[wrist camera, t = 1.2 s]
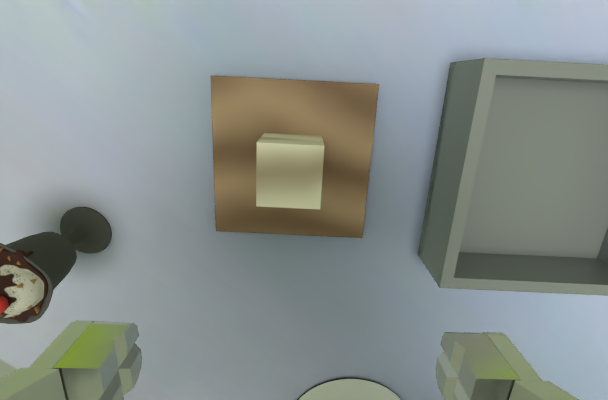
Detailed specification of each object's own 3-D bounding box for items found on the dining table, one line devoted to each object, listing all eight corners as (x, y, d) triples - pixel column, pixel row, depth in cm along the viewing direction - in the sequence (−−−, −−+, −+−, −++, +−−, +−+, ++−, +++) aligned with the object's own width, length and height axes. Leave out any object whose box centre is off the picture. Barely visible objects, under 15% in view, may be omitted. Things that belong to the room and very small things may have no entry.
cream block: (318, 190, 32) (320, 209, 27) (263, 188, 32) (256, 206, 27) (321, 135, 31) (324, 145, 26) (264, 133, 31) (256, 142, 26)
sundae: (133, 226, 35) (13, 327, 20) (98, 271, 36) (-37, 394, 22) (74, 184, 33) (-100, 260, 19) (40, 232, 35) (-143, 336, 21)
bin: (595, 263, 36) (650, 297, 30) (418, 254, 35) (439, 287, 30) (661, 73, 30) (745, 72, 24) (450, 63, 30) (484, 58, 24)
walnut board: (360, 233, 35) (362, 237, 34) (218, 226, 35) (215, 230, 34) (376, 84, 30) (379, 84, 29) (213, 75, 30) (210, 75, 29)
